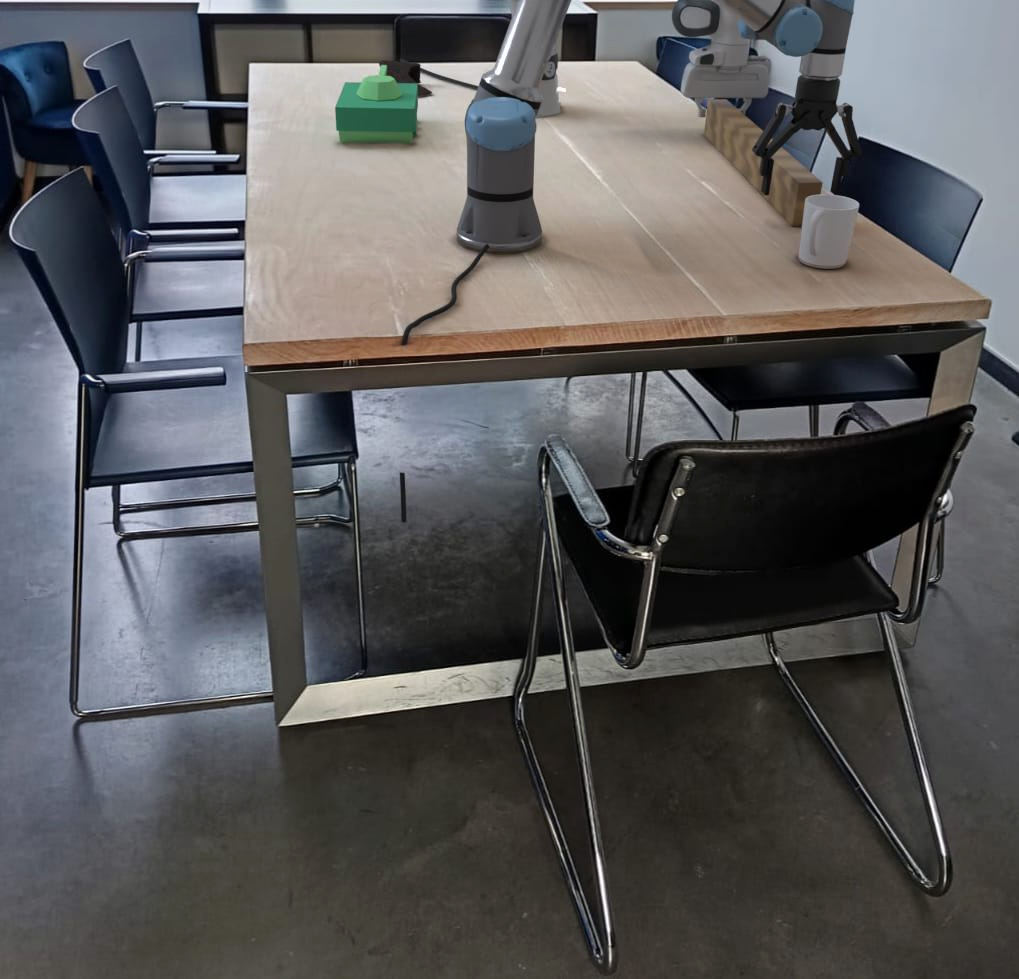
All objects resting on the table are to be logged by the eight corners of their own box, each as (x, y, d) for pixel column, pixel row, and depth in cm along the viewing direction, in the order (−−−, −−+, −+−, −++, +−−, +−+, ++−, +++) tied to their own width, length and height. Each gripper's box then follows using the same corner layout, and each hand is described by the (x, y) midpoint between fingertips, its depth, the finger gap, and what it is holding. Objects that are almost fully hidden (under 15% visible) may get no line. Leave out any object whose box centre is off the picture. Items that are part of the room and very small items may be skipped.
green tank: (418, 61, 273) (414, 91, 243) (418, 112, 279) (415, 147, 249) (346, 59, 272) (334, 89, 242) (349, 110, 278) (337, 146, 249)
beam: (815, 226, 206) (822, 182, 202) (791, 226, 206) (798, 182, 202) (722, 134, 266) (726, 99, 262) (703, 134, 266) (707, 99, 261)
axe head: (443, 87, 294) (392, 77, 287) (436, 115, 299) (385, 106, 292) (421, 62, 307) (371, 52, 300) (414, 89, 311) (365, 80, 304)
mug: (809, 248, 195) (819, 191, 189) (856, 260, 190) (868, 201, 185) (780, 264, 188) (790, 205, 182) (829, 277, 183) (840, 216, 177)
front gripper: (878, 72, 201) (856, 187, 212) (746, 71, 199) (730, 187, 210) (894, 81, 194) (870, 199, 206) (757, 79, 192) (740, 199, 203)
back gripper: (768, 53, 255) (760, 114, 263) (682, 52, 253) (676, 113, 261) (776, 58, 250) (767, 120, 257) (689, 57, 248) (682, 120, 255)
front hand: (799, 193), depth 208 cm, fingers open, 13 cm apart
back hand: (721, 117), depth 259 cm, fingers open, 8 cm apart
